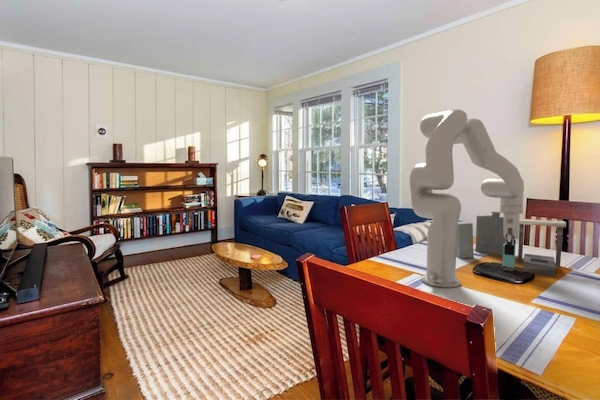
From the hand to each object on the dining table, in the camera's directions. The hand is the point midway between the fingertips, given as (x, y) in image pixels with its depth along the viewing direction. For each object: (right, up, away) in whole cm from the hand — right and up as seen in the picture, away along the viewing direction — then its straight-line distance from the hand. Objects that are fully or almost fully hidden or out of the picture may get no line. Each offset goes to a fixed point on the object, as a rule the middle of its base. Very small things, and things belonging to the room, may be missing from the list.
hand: (510, 251), depth 134 cm
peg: (-1, -7, 0) cm, 7 cm away
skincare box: (-9, -5, +22) cm, 24 cm away
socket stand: (+12, -7, +1) cm, 14 cm away
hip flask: (+8, -5, +26) cm, 28 cm away
